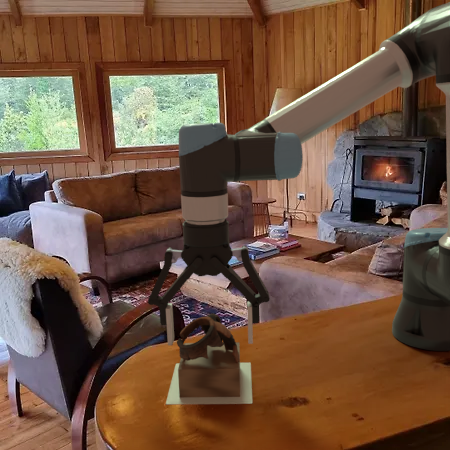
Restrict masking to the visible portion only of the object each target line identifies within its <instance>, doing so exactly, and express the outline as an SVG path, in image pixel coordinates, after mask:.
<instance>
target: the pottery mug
mask: <svg viewBox="0 0 450 450" xmlns="http://www.w3.org/2000/svg"><path fill="white" fill-rule="evenodd" d="M199 327H200V329H201V330H202V332H204V336H203V337H201V338H200V339H199V340H197V341H195V342H192V343H193V344H190V345H184V343H185V341H186V340H187V338H188V337H189V336H190V334H191V333H193V332H194V331H195V330H197V329H199ZM179 336H180V337H181V338H178V339H177V341H176V345H177V347H178V348H179V358H180V359H181V358H182V359H184V360H193V359H197V358H199V357H203V358H206V359H208V354H207V346H211V347H222V346H223V345H224V346H225V350H232V355H233V357H234V360H235V362H236V363H238V361H239V352H238V349H237V345H236V340H235V338H234V336H233V333H232V332H231V331H230V329H228V327H226V325H225V324H223V323H222V319H221V318H220V316H219V315H218V314H216V313H210V314H208V315H206V316H201V317H198V318H195V319H193V320H192V321H191V322H189V323H187V325H185V327H184V328H182V329H181V330H180V333H179Z"/></svg>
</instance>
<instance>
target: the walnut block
mask: <svg viewBox="0 0 450 450" xmlns="http://www.w3.org/2000/svg"><path fill="white" fill-rule="evenodd" d="M235 342H236V341H235ZM193 343H194V342H184V345H190V344H193ZM236 345H237V349H238V352H239V361H238V363H236V362H235V360H234V357H233V355H232V350H225V346H224V345H223V346H222V347H211V346H207V354H208V359H206V358H203V357H199V358H197V359H193V360H184V359H182V358H181V357H180V360H179V363H180V364H179V368H178V378H179V397H240V363H241V357H240V356H241V354H240V352H241V351H240V350H241V349H240V346H241V345H240V341H239V342H236Z"/></svg>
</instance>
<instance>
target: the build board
mask: <svg viewBox="0 0 450 450" xmlns="http://www.w3.org/2000/svg"><path fill="white" fill-rule="evenodd" d="M179 364H180V362H179V363H175V366H174V368H173V369H174V370H173V374H172V378H171V381H170V385H169V389H168V393H167V398H166V401H165V405H235V404H236V405H243V404H245V405H246V404H248V405H249V404H253V389H252V388H253V385H252V364H251V362H240V397H179V378H178V368H179Z"/></svg>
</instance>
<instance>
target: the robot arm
mask: <svg viewBox="0 0 450 450" xmlns="http://www.w3.org/2000/svg"><path fill="white" fill-rule="evenodd" d="M431 77H435V87H437V88H438V89H439V90H440V91H441V92H443V94H444V95H445V129H446V131H445V133H446V137H445V138H446V142H445V143H446V203H447V207H446V208H447V210H446V211H447V227H426V228H416V229H411V230H409V231H408V232H406V234H405V238H404V239H405V240H404V245H403V268H402V269H403V270H402V271H403V272H402V295H401V301H400V303H399V304H398V305H399V306H398V307H397V310H396V312H395V315H394V318H393V320H392V323H391V324H392V326H391V327H392V328H391V333H392V336H393V337H394V338H395V339H396V340H398V341H399V342H401V343H403V344H405V345H408V346H410V347H413V348H417V349H421V350H426V351H435V352H447V351H448V352H449V351H450V1H449V2H447V3H443V4H439V5H438V6H435V7H433V8H430V9H429V10H427V11H426V12H424V13H423V14H421V15H420V16H418V17H417V18H415V20H413V21H411V22H410V23H409V24H407V25H406V26H405V27H403V28H401V29H400V30H399V31H397V32H396V33H395V34H393V35H392V36H390V37H388V38H386V39H385V40H383V41H382V42H381V43H380V45H379V48H378V50H377V51H375V52H374V53H372V54H371V55H369V56H367V57H366V58H364V59H363V60H361V61H359V62H358V63H356V64H354V65H353V66H350V67H349V68H347V69H345V70H344V71H343V72H341V73H339V74H338V75H335V76H334V77H332V78H330V79H329V80H328V81H326V82H324V83H322V84H320V85H319V86H317V87H316V88H314V89H312V90H311V91H309V92H308V93H306V94H304V95H302V96H301V97H298V98H297V99H295V100H293V102H291V103H289V104H287V105H286V106H284V107H282V108H281V109H279V110H277V111H275V112H273V113H272V114H271V115H269V116H267V117H265V118H264V119H263V120H261V121H259V122H257V123H256V124H254V125H252V126H250V127H249V128H245V129H241V130H240V131H238V132H236V133H235V134H228V132H227V130H226V126H225V124H224V123H222V122H207V123H206V122H199V123H197V122H196V123H194V122H193V123H185V124H183V125H182V126H181V127H180V128H179V130H178V163H179V166H178V168H179V178H180V179H179V180H180V183H179V184H180V193H181V194H180V201H181V202H180V203H181V204H180V205H181V213H182V214H181V217H182V219H184V220H185V221H183V223H182V237H183V238H182V239H183V248H182V250H180V249H179V250H178V249H174V248H172V247H167V249H166V251H164V259H163V260H164V261H163V266H162V268H161V271H160V273H159V275H158V276H157V279H156V281H155V283H154V286H153V289H152V291H151V293H150V295H149V297H148V298H147V303H148V305H149V306H153V305H154V306H157V307H158V309H159V323H160V325H161V326H166V334H167V335H166V337H167V346H173V345H174V344H173V343H174V340H175V331H174V330H175V328H174V326H175V325H174V309H173V303H172V302H171V301H172V299H174V297H175V296H176V294H178V292H179V291H180V289H181V288H182V287H183V286H184V285H185V283H186V282H187V281H188V280H189V279H190V278H191V276H192V275H193V274H194V275H196V276H197V277H205V276H210V277H211V276H212V277H217V276H219V275H222V276H223V277H224V278H225V279H227V280H228V281H229V282H230V283H231V284H232V285H233V286H234V287H235V288H236V290H237V291H238V292H239V293H241V295H242V296H243V297H244V298H245V299H246V300H247V302H246V303H247V305H246V307H247V309H246V310H247V338H248V340H247V342H248V344H249V345H251V344H254V340H253V339H254V337H253V335H254V333H253V332H254V331H253V324H259V322H260V305H261V304H262V303H269V301H270V293H269V291H268V289H267V287H266V286H265V283H264V282H263V280H262V278H261V276H260V274H259V272H258V271H257V269H256V267H255V266H254V264H253V262H252V260H251V258H250V252H249V247H248V246H247V245H242V246H241V247H237V248H232V247H231V245H230V223H229V221H228V220H227V218H228V217H229V196H228V195H229V193H228V192H229V190H228V183H238V182H253V181H255V182H256V181H278V182H279V181H282V180H290V179H295V178H297V177H298V176H299V175H300V173H301V171H302V168H303V146H302V145H303V144H304V143H306V142H308V141H310V140H311V139H313V138H315V137H316V136H317V135H319V134H320V133H323V132H324V131H326V130H329V128H332V127H333V126H335V125H337V124H338V123H339V122H341V121H343V120H344V119H346V118H348V117H350V116H352V115H353V114H355V113H356V112H358V111H360V110H361V109H363V108H364V107H367V106H368V105H370V104H372V103H373V102H376V101H377V100H378V99H380V98H381V97H383V96H385V95H387V94H389V93H390V92H391V91H394V90H396V88H398V87H399V88H402V89H406V88H407V89H408V88H409V87H412V86H413V85H414V84H415V83H418V82H420V81H423V80H424V79H425V80H426V79H428V78H431ZM233 257H235V258H236V260H237V261H238V262H241V263H242V265H243V269H245V271H246V273H247V274H248V277H249V278H250V280H251V282H252V284H253V286H254V287H255V289H256V292H258V293H256V292H255V291H254V290H253V289H252V288H251V287H250V286H249V285H248V284H247V283H246V282H245V280H243V278H242V277H241V276H240V275H239V274H238V273H237V272H236V271H235V270H234V269H233V267H232V266H231V265H230V264H229V262H230V261H231V260H232V258H233ZM180 258H181V260H182V261H183V263H185V265H186V266H185V268H184V269H183V270H182V271H181V273H180V274H179V276H178V277H177V278H176V279H175V280H174V282H173V283H172V284H171V285H170V286H169V288H168V289H167V290H166V291H165V293H164V294H163V295H162V296H161V295H159V294H160V293H161V290H162V287H163V285H164V284H165V281H166V278H167V277H168V275H169V272H170V270H171V268H172V266H173V264H175V263H177V261H178V259H180Z"/></svg>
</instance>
